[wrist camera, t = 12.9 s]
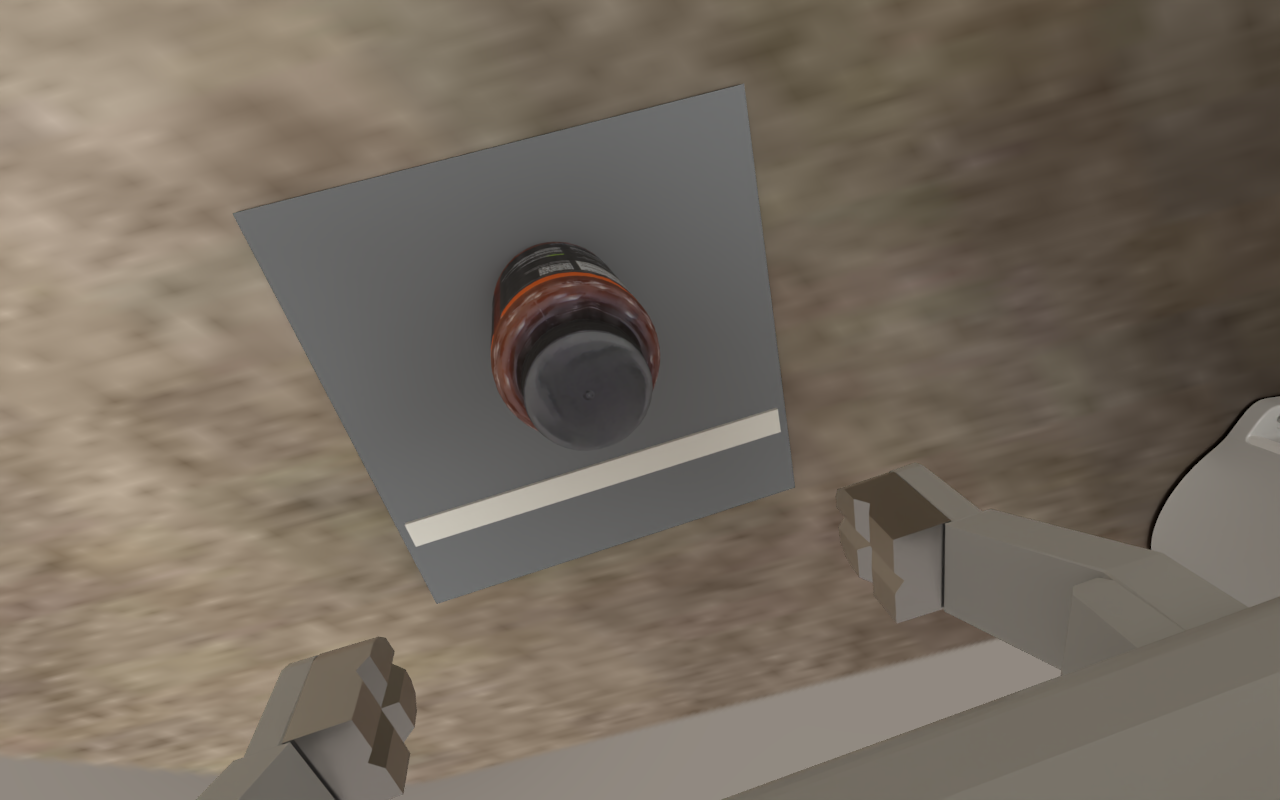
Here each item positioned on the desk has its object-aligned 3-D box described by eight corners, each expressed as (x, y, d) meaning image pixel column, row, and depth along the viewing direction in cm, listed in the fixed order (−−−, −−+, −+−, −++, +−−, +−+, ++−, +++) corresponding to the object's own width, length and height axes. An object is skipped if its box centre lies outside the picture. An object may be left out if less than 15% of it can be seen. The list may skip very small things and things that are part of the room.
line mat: (740, 84, 26) (745, 83, 25) (792, 483, 36) (796, 489, 35) (236, 212, 24) (230, 214, 23) (437, 598, 34) (436, 606, 33)
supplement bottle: (553, 384, 29) (579, 514, 19) (464, 298, 27) (440, 395, 17) (643, 306, 29) (719, 398, 19) (561, 210, 26) (597, 255, 16)
